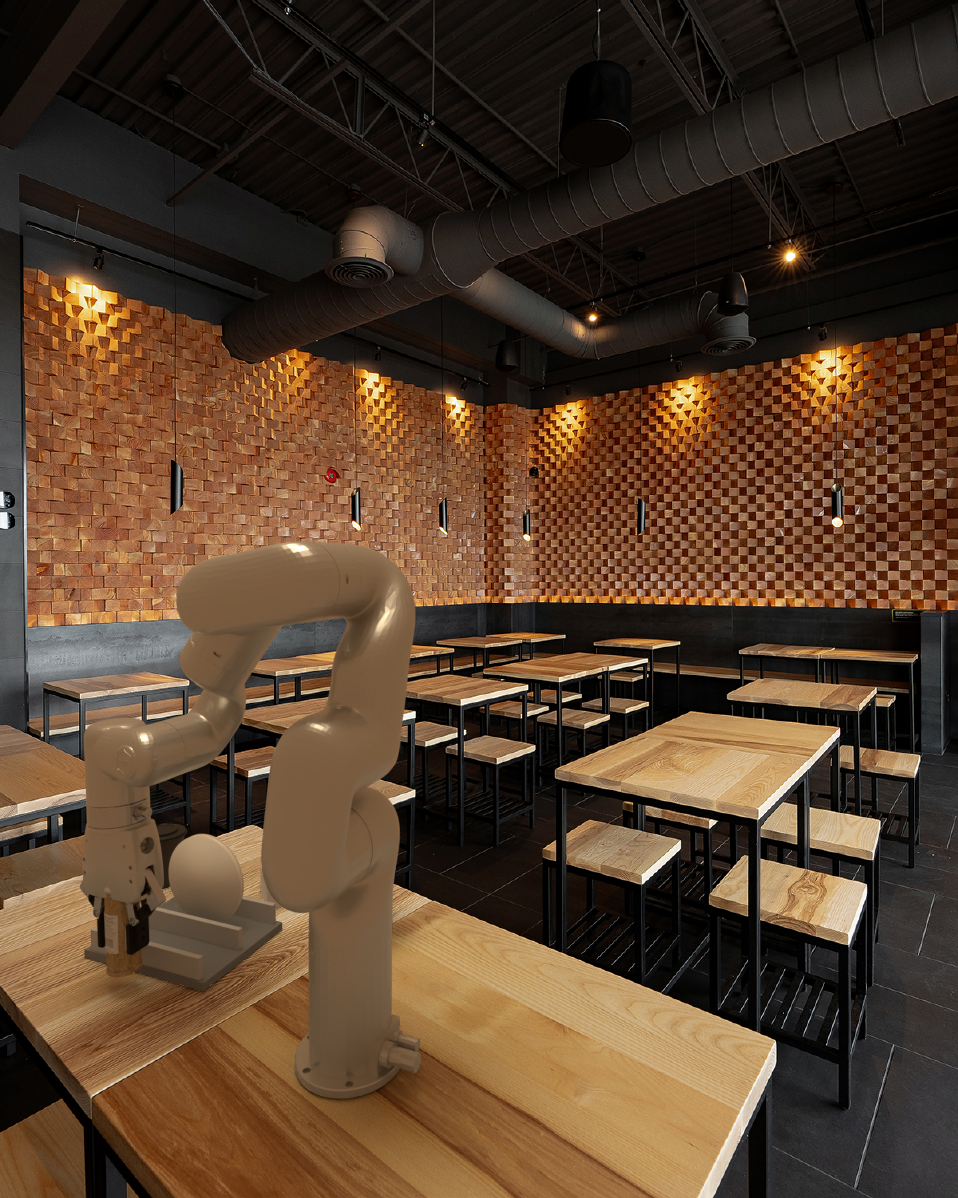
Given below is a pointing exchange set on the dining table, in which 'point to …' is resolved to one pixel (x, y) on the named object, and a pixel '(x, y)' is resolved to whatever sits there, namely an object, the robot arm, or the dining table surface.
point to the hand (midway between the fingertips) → (123, 944)
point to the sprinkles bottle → (118, 939)
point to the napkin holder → (266, 891)
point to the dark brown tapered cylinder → (169, 844)
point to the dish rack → (202, 918)
